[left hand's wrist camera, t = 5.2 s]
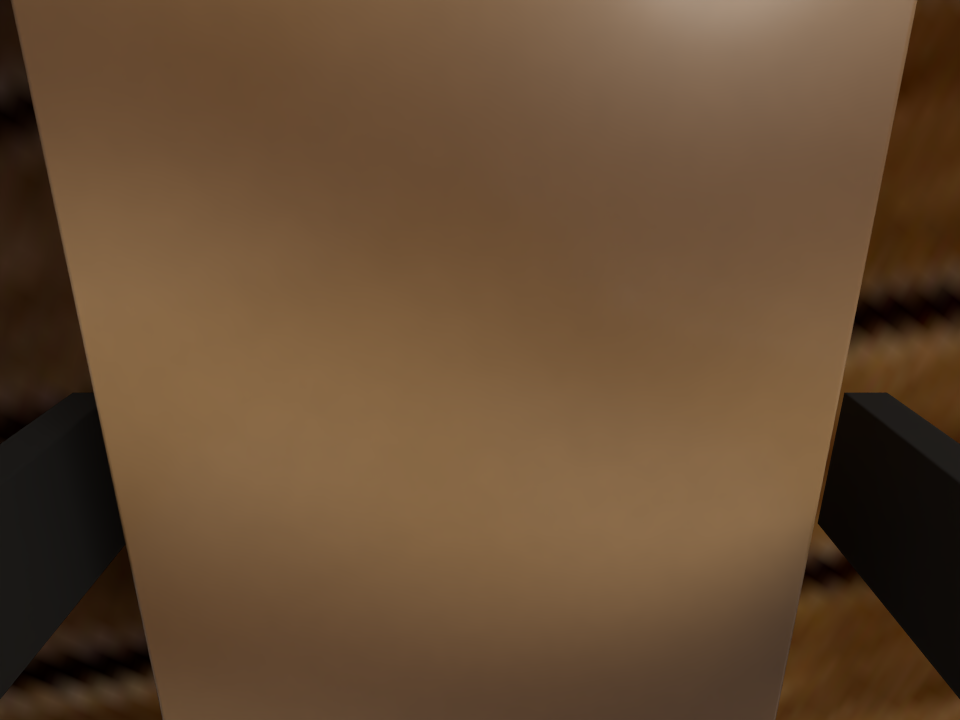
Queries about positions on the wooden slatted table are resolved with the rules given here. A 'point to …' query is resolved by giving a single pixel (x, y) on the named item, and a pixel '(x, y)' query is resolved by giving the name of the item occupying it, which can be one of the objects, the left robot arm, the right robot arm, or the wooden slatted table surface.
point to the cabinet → (466, 336)
